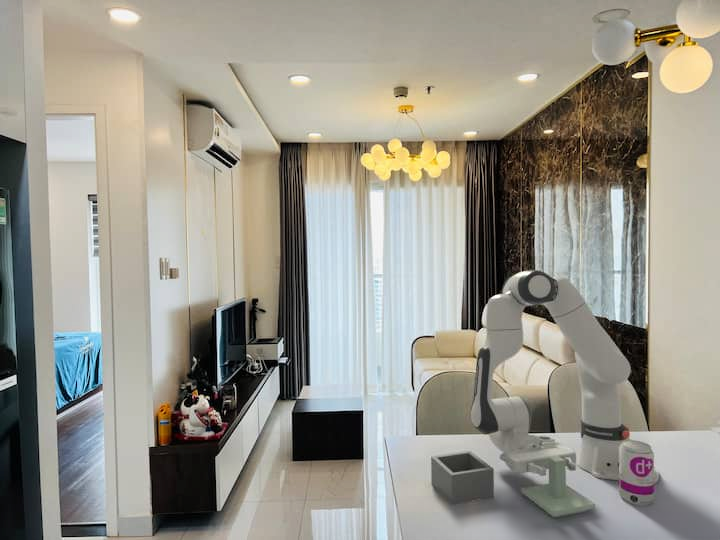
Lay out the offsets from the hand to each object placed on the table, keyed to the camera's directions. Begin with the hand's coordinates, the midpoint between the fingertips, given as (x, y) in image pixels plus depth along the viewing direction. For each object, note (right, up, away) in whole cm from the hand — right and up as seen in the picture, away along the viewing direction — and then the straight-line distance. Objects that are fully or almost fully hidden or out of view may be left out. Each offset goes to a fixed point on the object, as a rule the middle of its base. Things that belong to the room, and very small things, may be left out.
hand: (559, 470), depth 125 cm
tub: (-24, -10, +10) cm, 28 cm away
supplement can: (+23, -9, +3) cm, 25 cm away
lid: (0, -10, +1) cm, 10 cm away
